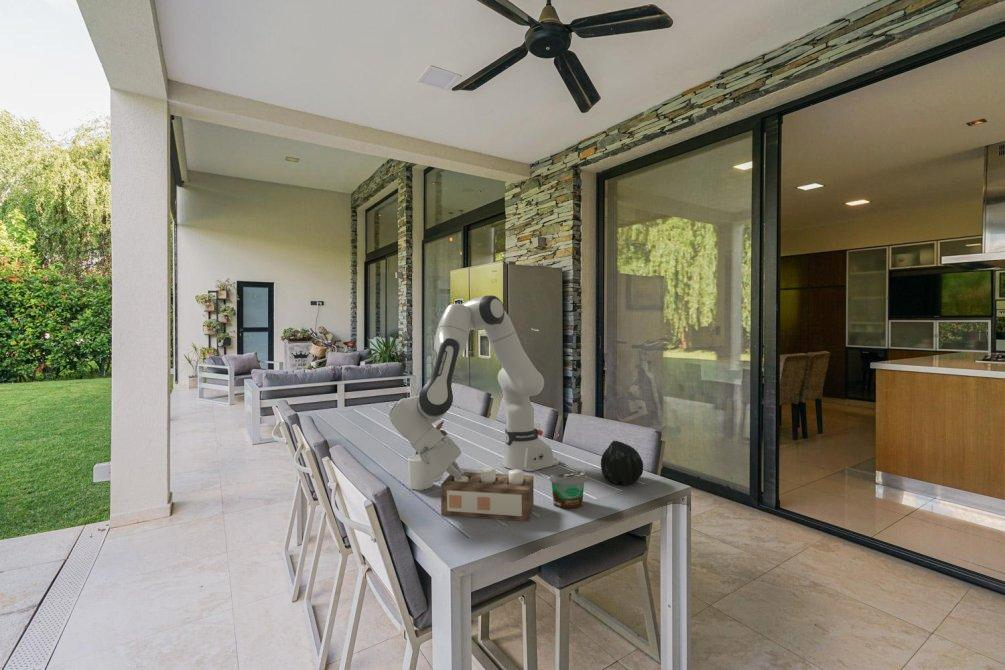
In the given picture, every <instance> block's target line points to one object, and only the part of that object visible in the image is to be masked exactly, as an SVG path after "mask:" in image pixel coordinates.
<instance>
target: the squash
mask: <svg viewBox="0 0 1005 670" xmlns="http://www.w3.org/2000/svg"><path fill="white" fill-rule="evenodd" d="M600 470H601V473H602V475H603V477H604V478H605V479H606V480H608V481H609V482H610V483H611V482H613V484H615V485H620V484H622V485H624V486H625V485H626V486H627V485H628V486H629V484H631V483H634V482H635V483H636V482H637V481H638V480H639V479H640V478H641V476H643V472H644V462H643V460H642V457H641V454H639V452H638V451H637V450H636V449H635V448H634V447H632V446H631V445H629V444H626V443H624V442H622V441H619V440H612V442H610V444H609V445H608V447H607V448H606V449H605V451H604V452H603V454H602V456H601V459H600Z"/></svg>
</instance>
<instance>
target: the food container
mask: <svg viewBox="0 0 1005 670" xmlns="http://www.w3.org/2000/svg"><path fill="white" fill-rule="evenodd" d="M548 481H550V482H551V490H552V500H553V506H554V507H555V508H558V509H563V510H576V509H579V508H581V507H582V506H583V500H584V490H585V489H584V488H585V482H586V481H587V474H586V471H585V470H584V469H583V468H582V469H581V471H578V472H565V473H563V474H560V475H555V474H552V473H551V474H550V476H549V480H548Z"/></svg>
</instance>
